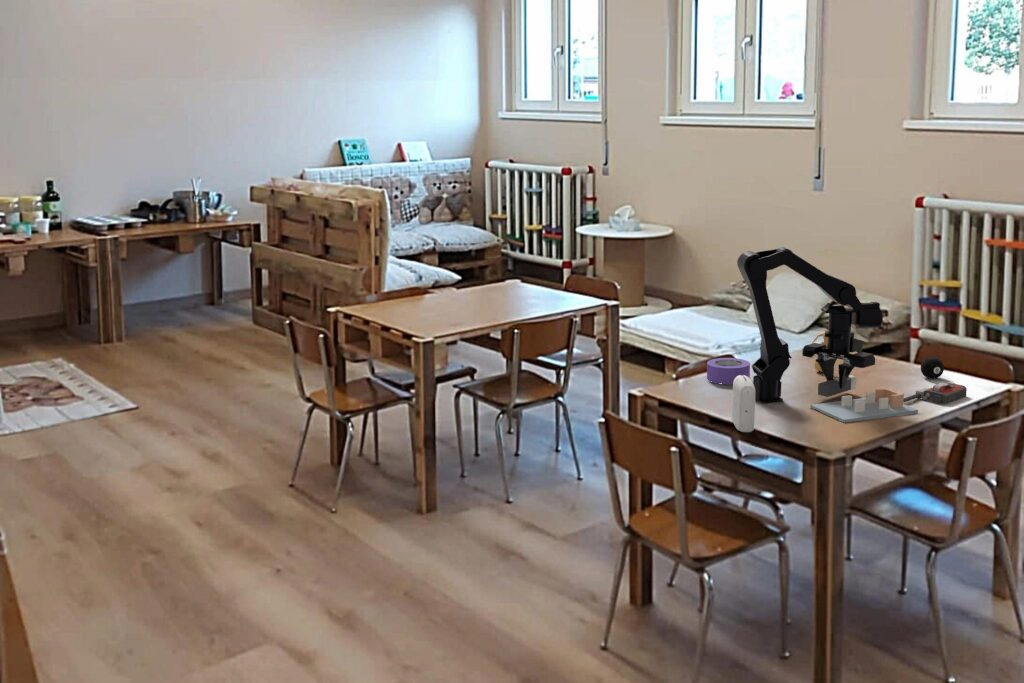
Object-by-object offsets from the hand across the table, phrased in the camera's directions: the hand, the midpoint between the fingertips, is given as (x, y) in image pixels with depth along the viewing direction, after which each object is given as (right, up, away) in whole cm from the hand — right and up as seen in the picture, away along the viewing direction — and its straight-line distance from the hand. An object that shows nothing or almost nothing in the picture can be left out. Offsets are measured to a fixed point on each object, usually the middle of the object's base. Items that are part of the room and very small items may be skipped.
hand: (836, 387), depth 297 cm
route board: (+3, -5, -12) cm, 13 cm away
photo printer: (-29, -9, -23) cm, 38 cm away
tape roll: (-25, +1, +20) cm, 32 cm away
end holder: (+11, -5, -9) cm, 15 cm away
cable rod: (0, -1, 0) cm, 1 cm away
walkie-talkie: (+25, -4, -3) cm, 25 cm away
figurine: (+4, +3, +27) cm, 27 cm away
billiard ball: (+32, +2, +18) cm, 37 cm away
